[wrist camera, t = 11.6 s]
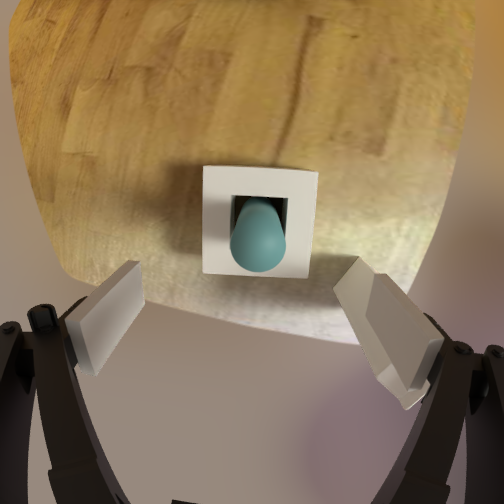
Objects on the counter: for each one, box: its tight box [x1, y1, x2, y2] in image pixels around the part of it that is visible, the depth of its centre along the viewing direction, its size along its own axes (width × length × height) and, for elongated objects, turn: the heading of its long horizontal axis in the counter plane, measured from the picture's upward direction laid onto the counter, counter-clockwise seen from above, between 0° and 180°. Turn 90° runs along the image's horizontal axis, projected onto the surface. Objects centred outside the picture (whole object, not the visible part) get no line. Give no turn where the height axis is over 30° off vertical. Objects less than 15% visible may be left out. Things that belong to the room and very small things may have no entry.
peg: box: [230, 196, 286, 272], centre depth 30 cm, size 4×4×14 cm
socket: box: [202, 165, 318, 279], centre depth 34 cm, size 12×12×6 cm
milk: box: [333, 257, 430, 410], centre depth 29 cm, size 6×6×22 cm
